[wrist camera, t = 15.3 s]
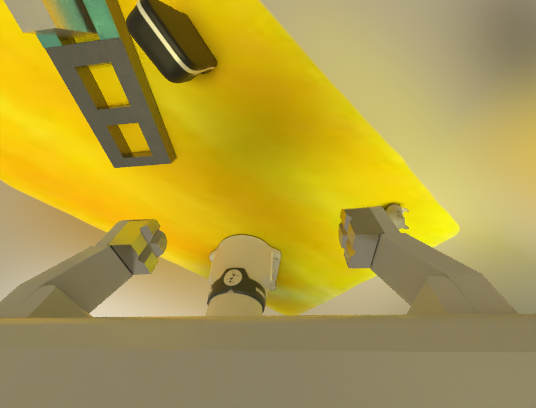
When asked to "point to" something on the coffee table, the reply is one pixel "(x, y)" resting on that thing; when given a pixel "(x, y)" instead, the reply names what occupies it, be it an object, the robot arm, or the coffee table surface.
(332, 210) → the coffee table surface
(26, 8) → the steel block
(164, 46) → the battery charger
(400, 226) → the toy rhinoceros
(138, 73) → the grey slotted board
